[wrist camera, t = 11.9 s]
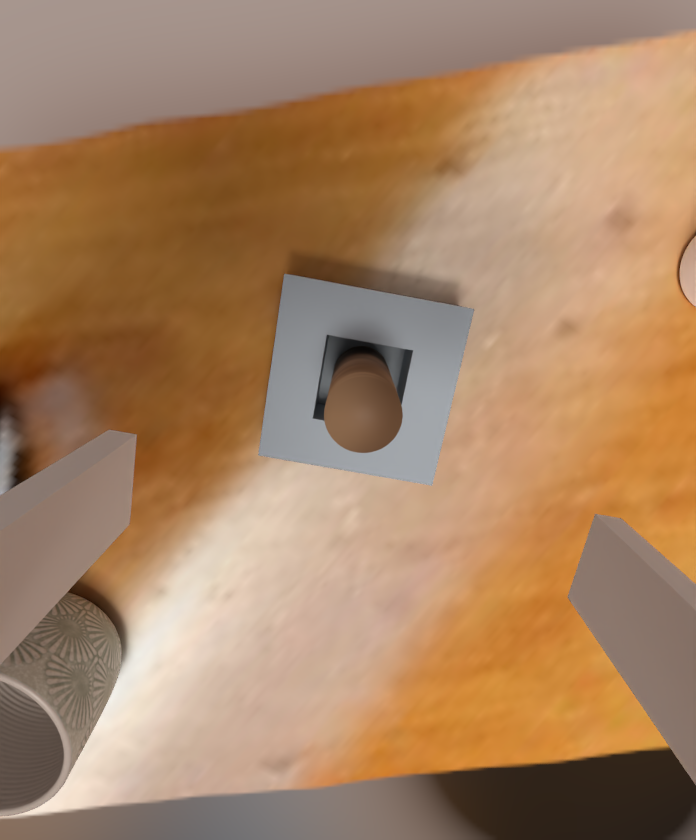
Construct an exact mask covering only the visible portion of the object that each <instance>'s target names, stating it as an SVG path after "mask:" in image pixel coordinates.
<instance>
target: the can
mask: <svg viewBox="0 0 696 840" xmlns="http://www.w3.org/2000/svg"><path fill="white" fill-rule="evenodd" d="M680 283H681V287H682V290H683V292H684V294H685V296H686V297H687V299H688V300H689V301H690V302H691V303H692V304H693V305H694V306H695V307H696V236H695V237H694V238H693V239H692V241H691V242H690V243H689V245H688V247H687V248H686V250H685V252H684V255H683V257H682V261H681V265H680Z"/></svg>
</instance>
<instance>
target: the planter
mask: <svg viewBox="0 0 696 840" xmlns="http://www.w3.org/2000/svg"><path fill="white" fill-rule="evenodd" d="M121 659H122V649H121V642H120V639H119V636H118V633H117V631H116V629H115V627H114V625H113V623H112V622H111V620H110V619H109V618H108V616H107V615H106V614H105V613H104V612H103V611H102V610H101V609H100V608H98V607H97V606H96V605H94V604H93V603H92V602H90V601H88V600H86V599H85V598H82V597H80V596H78V595H75V594H72V593H68V592H67V593H66V594H65V595H64V596H63V597H62V598H61V599H60V600H59V602H58V603H57V604H56V605H55V606H54V607H53V608H52V609H51V610H50V611H49V612H48V614H47V615H46V616H45V617H44V618H43V619H42V620H41V621H40V622H39V623H38V624H37V626H36V627H35V628H34V629H33V630H32V631H31V632H30V633H29V634H28V635H27V636H26V637H25V639H24V640H23V641H22V642H21V643H20V644H19V645H18V646H17V647H16V648H15V649H14V651H13V652H12V653H11V654H10V655H9V656H8V657H7V658H6V659H5V660H4V661H3V662H2V664H1V665H0V816H10V815H16V814H20V813H24V812H27V811H30V810H32V809H35V808H37V807H39V806H41V805H42V804H44V803H45V802H47V801H48V800H50V799H51V798H52V797H53V796H54V795H55V794H56V793H57V792H58V791H59V790H60V789H61V787H62V786H63V784H64V783H65V781H66V779H67V777H68V775H69V774H70V772H71V770H72V768H73V766H74V764H75V762H76V761H77V759H78V757H79V755H80V753H81V751H82V750H83V748H84V746H85V744H86V742H87V740H88V738H89V736H90V735H91V733H92V731H93V729H94V727H95V725H96V723H97V721H98V720H99V718H100V716H101V714H102V712H103V710H104V708H105V706H106V704H107V702H108V700H109V698H110V695H111V693H112V691H113V688H114V686H115V683H116V681H117V678H118V675H119V671H120V666H121Z"/></svg>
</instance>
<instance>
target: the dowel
mask: <svg viewBox="0 0 696 840" xmlns="http://www.w3.org/2000/svg"><path fill="white" fill-rule="evenodd" d="M402 418H403V412H402V406H401V402H400V400H399V397H398V394H397V391H396V388H395V385H394V383H393V380H392V377H391V374H390V371H389V368H388V366H387V363H386V361H385V359H384V357H383V356H382V355H381V354H380V353H379V352H378V351H376V350H375V349H373V348H370V347H367V346H356V347H352V348H350V349H348V350H346V351H345V352H343V353H342V354H341V355H340V357H339V358H338V360H337V361H336V364H335V367H334V371H333V375H332V380H331V384H330V388H329V392H328V396H327V400H326V405H325V409H324V421H325V425H326V429H327V431H328V433H329V434H330V436H331V437H332V439H333V440H334V441H335V442H336V443H337V444H338V445H340V446H341V447H343V448H345V449H347V450H349V451H352V452H357V453H370V452H374V451H377V450H380V449H382V448H384V447H385V446H387V445H388V444H389V443H390V442H391V441H392V440H393V439H394V438H395V437H396V435H397V434H398V432H399V430H400V427H401V424H402Z"/></svg>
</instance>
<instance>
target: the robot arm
mask: <svg viewBox="0 0 696 840" xmlns="http://www.w3.org/2000/svg"><path fill="white" fill-rule="evenodd" d="M136 438H137V434H131V433H125V432H120V431H114V430H108V431H106V432H104V433H103V434H101V435H99V436H98V437H96V438H94V439H93V440H91V441H90V442H88V443H86V444H85V445H83V446H81V447H80V448H78V449H76V450H75V451H73V452H71V453H70V454H68V455H66V456H65V457H63V458H62V459H60V460H58V461H57V462H55V463H53V464H52V465H50V466H48V467H47V468H45V469H43V470H42V471H40V472H38V473H37V474H35V475H34V476H32V477H30V478H29V479H27V480H25V481H24V482H22V483H20V484H19V485H17V486H15V487H14V488H12V489H11V490H9V491H7V492H6V493H4V494H2V495H1V496H0V665H1V664H2V662H3V661H4V660H5V659H6V658H7V657H8V656H9V655H10V654H11V653H12V652H13V651H14V649H15V648H16V647H17V646H18V645H19V644H20V643H21V642H22V641H23V640H24V639H25V637H26V636H27V635H28V634H29V633H30V632H31V631H32V630H33V629H34V628H35V627H36V626H37V624H38V623H39V622H40V621H41V620H42V619H43V618H44V617H45V616H46V615H47V614H48V612H49V611H50V610H51V609H52V608H53V607H54V606H55V605H56V604H57V603H58V602H59V600H60V599H61V598H62V597H63V596H64V595H65V594H66V593H67V592H68V591H69V590H70V589H71V587H72V586H73V585H74V584H75V583H76V582H77V581H78V580H79V579H80V578H81V577H82V575H83V574H84V573H85V572H86V571H87V570H88V569H89V568H90V567H91V566H92V565H93V564H94V562H95V561H96V560H97V559H98V558H99V557H100V556H101V555H102V554H103V553H104V552H105V550H106V549H107V548H108V547H109V546H110V545H111V544H112V543H113V542H114V541H115V540H116V539H117V537H118V536H119V535H120V534H121V533H122V532H123V531H124V530H125V529H126V528H127V527H128V525H129V524H130V515H131V502H132V489H133V476H134V464H135V451H136ZM568 598H569V600H570V601H571V603H572V604H573V606H574V607H575V609H576V610H577V612H578V613H579V615H580V616H581V618H582V619H583V620H584V622H585V623H586V625H587V626H588V628H589V629H590V631H591V632H592V634H593V635H594V637H595V638H596V640H597V641H598V642H599V644H600V645H601V647H602V648H603V650H604V651H605V653H606V654H607V656H608V657H609V659H610V660H611V662H612V663H613V664H614V666H615V667H616V669H617V670H618V672H619V673H620V675H621V676H622V678H623V679H624V681H625V682H626V683H627V685H628V686H629V688H630V689H631V691H632V692H633V694H634V695H635V697H636V698H637V700H638V701H639V703H640V704H641V705H642V707H643V708H644V710H645V711H646V713H647V714H648V716H649V717H650V719H651V720H652V722H653V723H654V725H655V726H656V727H657V729H658V730H659V732H660V733H661V735H662V736H663V738H664V739H665V741H666V742H667V744H668V745H669V747H670V748H671V749H672V751H673V752H674V754H675V755H676V757H677V758H678V759H679V761H680V762H681V764H682V766H683V767H684V769H685V770H686V771H687V773H688V774H689V776H690V777H691V779H692V780H693V782H694V783H695V785H696V584H695V583H694V582H693V581H691V580H690V579H689V578H688V577H687V576H686V575H685V574H683V573H682V572H681V571H680V570H679V569H678V568H677V567H675V566H674V565H673V564H672V563H671V562H670V561H669V560H668V559H666V558H665V557H664V556H663V555H662V554H661V553H660V552H658V551H657V550H656V549H655V548H654V547H653V546H652V545H651V544H649V543H648V542H647V541H646V540H645V539H644V538H643V537H641V536H640V535H639V534H638V533H637V532H636V531H635V530H634V529H632V528H631V527H630V526H629V525H628V524H627V523H626V522H624V521H623V520H622V519H621V518H615V517H610V516H604V515H598V514H595V516H594V519H593V522H592V525H591V528H590V531H589V534H588V537H587V540H586V543H585V546H584V549H583V552H582V555H581V558H580V561H579V564H578V567H577V570H576V573H575V576H574V579H573V582H572V585H571V588H570V591H569V594H568Z"/></svg>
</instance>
